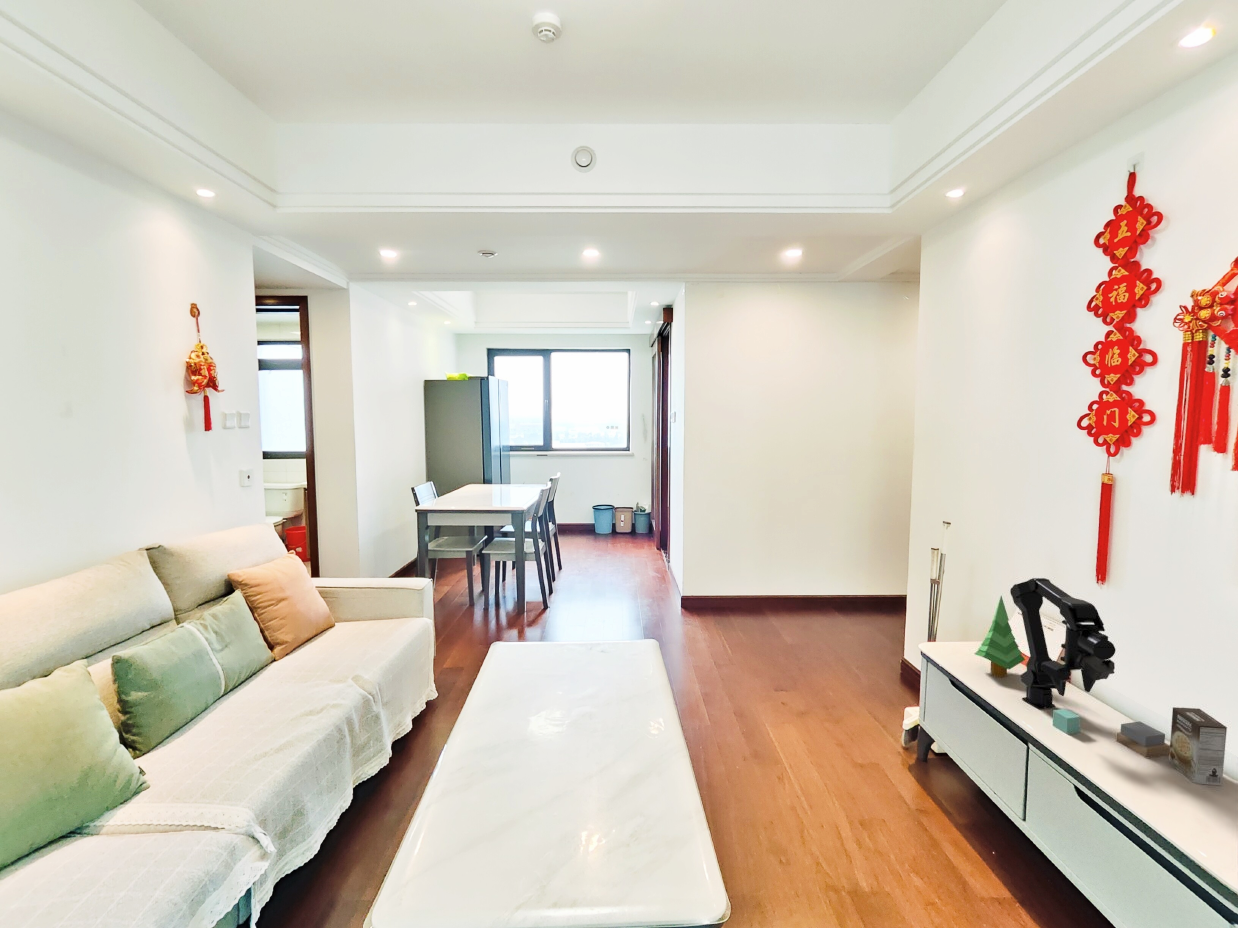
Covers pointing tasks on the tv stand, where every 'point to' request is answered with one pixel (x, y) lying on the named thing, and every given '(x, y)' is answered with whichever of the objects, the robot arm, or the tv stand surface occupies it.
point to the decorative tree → (1000, 644)
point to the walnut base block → (1144, 751)
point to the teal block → (1066, 721)
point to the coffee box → (1197, 745)
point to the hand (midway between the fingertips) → (1074, 693)
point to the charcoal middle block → (1142, 734)
